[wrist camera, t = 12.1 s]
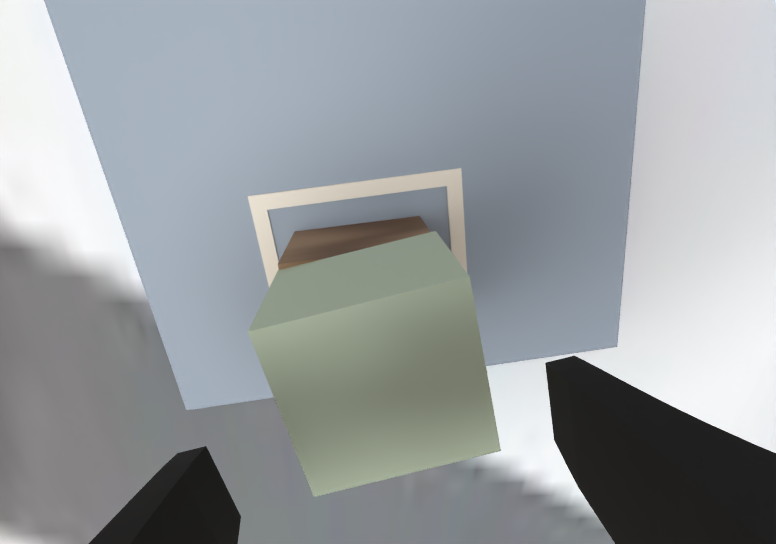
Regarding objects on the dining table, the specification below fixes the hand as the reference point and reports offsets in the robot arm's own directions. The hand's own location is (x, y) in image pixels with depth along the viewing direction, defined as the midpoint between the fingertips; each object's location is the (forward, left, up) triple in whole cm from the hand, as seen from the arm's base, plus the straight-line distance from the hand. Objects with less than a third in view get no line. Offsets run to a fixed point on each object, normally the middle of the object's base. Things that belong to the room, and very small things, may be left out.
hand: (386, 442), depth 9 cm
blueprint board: (-1, -4, -10) cm, 11 cm away
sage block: (0, 0, -5) cm, 5 cm away
